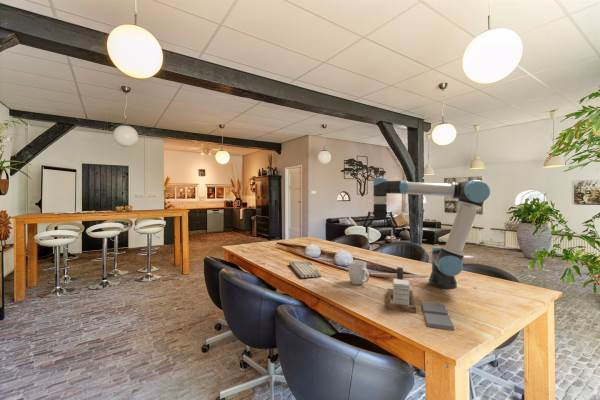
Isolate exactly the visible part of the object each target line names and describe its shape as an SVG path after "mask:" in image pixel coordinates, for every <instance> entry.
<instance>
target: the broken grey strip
mask: <svg viewBox="0 0 600 400" xmlns="http://www.w3.org/2000/svg"><path fill="white" fill-rule="evenodd" d="M421 306H422V311H423V314H424V319H425V322H426V327H430V328H437V329H443V330H452V331H454V330H455V325H454V323H453V321H452V319H451V317H450V315H449V313H448V310H447V308H446V306H445V304H444V303H443V302H442V303H439V302H432V301H423V300H422V301H421Z"/></svg>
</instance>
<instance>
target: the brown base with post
mask: <svg viewBox="0 0 600 400" xmlns="http://www.w3.org/2000/svg"><path fill="white" fill-rule="evenodd" d="M396 279H400V280H404V267H399V266H397V267H396ZM386 293H387V295H386V310H389V311H390V310H391V311H399V312H407V313H414V314H416V313H417V307H416V301H415V297H414V293H413V290H409V302H410V304H411V305H410V304H409V305H401V304H394V303H391V299H393V288H387V292H386Z"/></svg>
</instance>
